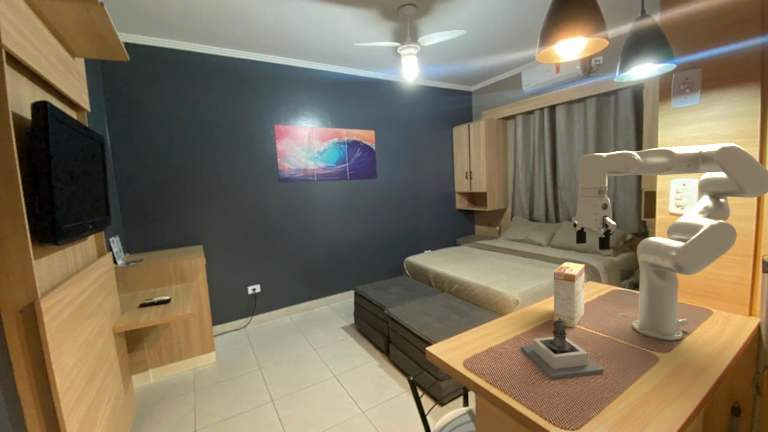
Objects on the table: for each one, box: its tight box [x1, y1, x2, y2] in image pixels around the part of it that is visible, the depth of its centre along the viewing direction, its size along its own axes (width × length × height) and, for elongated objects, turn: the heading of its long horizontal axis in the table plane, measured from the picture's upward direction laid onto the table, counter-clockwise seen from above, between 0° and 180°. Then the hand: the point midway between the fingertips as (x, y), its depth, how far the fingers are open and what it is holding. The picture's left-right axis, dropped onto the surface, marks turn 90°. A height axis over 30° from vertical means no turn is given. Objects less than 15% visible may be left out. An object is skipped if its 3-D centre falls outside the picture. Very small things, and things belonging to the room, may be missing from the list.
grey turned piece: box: [548, 318, 571, 354], centre depth 90 cm, size 6×6×12 cm
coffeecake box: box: [553, 261, 586, 329], centre depth 116 cm, size 15×7×20 cm, turn 136°
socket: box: [520, 336, 604, 380], centre depth 91 cm, size 15×15×4 cm
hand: (592, 246), depth 100 cm, fingers open, 9 cm apart
